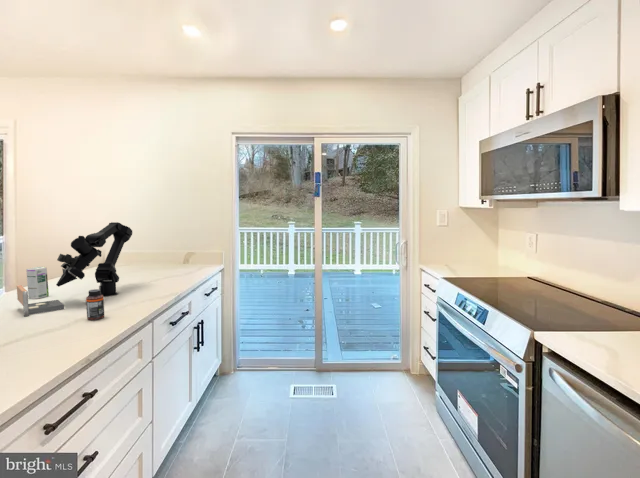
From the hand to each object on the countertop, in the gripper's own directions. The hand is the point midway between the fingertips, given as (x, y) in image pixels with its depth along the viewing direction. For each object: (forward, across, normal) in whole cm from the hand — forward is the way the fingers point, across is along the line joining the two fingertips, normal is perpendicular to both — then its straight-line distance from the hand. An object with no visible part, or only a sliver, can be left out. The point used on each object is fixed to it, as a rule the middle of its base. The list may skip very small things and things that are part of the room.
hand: (57, 285), depth 164 cm
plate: (+11, +3, +2) cm, 11 cm away
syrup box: (+9, -25, +4) cm, 27 cm away
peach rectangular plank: (+12, +1, -5) cm, 13 cm away
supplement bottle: (+2, +31, +12) cm, 33 cm away
